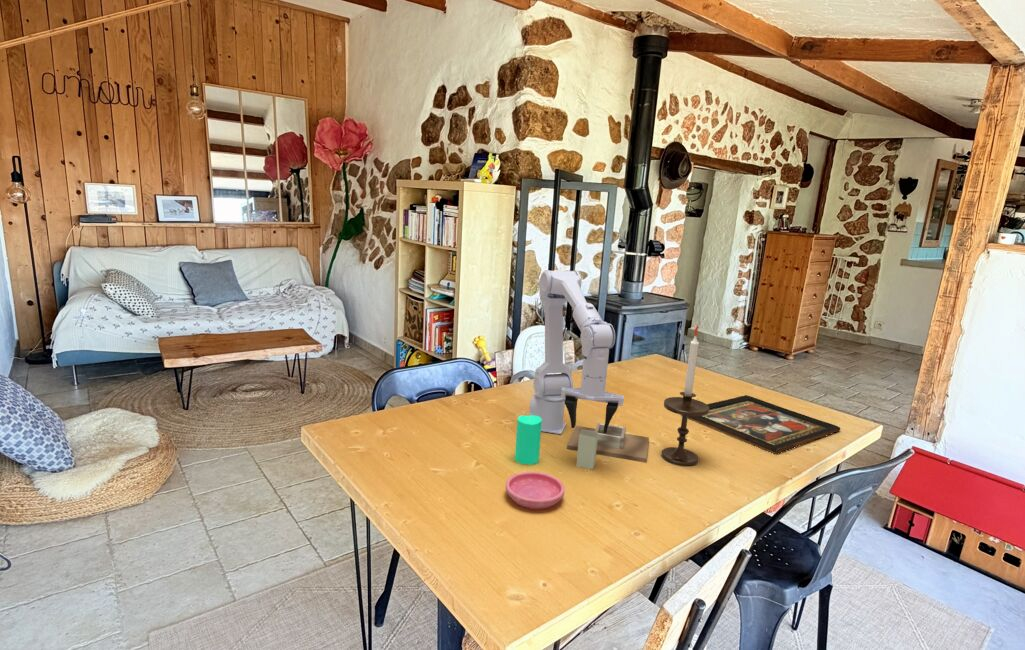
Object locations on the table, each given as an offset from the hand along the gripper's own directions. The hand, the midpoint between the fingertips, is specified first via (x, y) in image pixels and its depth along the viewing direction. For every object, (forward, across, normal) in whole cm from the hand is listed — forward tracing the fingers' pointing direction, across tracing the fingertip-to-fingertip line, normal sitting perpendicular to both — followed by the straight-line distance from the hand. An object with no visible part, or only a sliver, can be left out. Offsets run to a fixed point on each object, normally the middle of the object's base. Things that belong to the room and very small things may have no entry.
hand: (589, 429), depth 133 cm
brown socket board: (+9, +4, +14) cm, 17 cm away
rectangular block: (+9, 0, 0) cm, 9 cm away
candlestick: (+9, +22, +13) cm, 27 cm away
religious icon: (+10, +46, +49) cm, 67 cm away
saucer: (+10, -8, -20) cm, 23 cm away
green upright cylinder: (+9, -14, -3) cm, 17 cm away
